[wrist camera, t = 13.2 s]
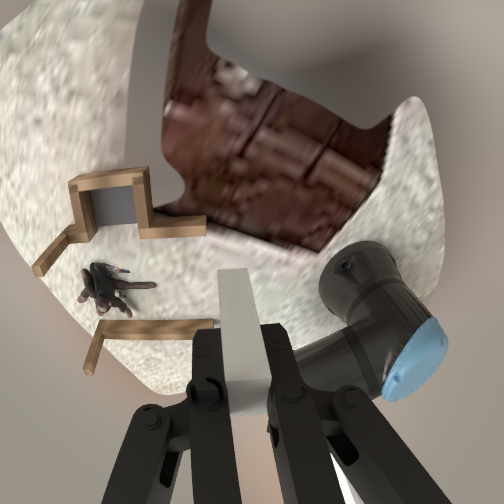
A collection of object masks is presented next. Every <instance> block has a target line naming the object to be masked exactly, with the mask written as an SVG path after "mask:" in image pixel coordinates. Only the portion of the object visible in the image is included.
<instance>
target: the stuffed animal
mask: <svg viewBox="0 0 504 504" xmlns="http://www.w3.org/2000/svg"><path fill="white" fill-rule="evenodd" d="M90 272H91V273H92V274H93V277H94V278H93V277H92V276H91V274H90V273H89V272H88V271H87V270H85V269H82V270H81V273H82V278H83V281H84V285H85V289H84V290H83V291H82V292H81V295H80V296H79V297H78V300H77V301H78V302H79V303H83V302H85V301H86V299H87V298H88V297H89V295H90V297H92V298H94V301H95V303H96V308H97V314H98V315H99V316H102V315H103V313H106V312H108V311H109V310H110V308H111V307H118V308H119V309H120V311H121V312H123V313H126V314H127V316H128V317H129V318H131V317H132V312H131V310H130V308H129V307H128V306H127V305H126V303H125V302H123V301H122V299H121V298H123V297H125V298H126V296H125V295H122V294H121V291H119V297H120V298H119V297H116V296H115V289H119V290H126V289H149V288H155V287H156V285H155V284H154V283H152V282H134V283H129V282H126V281H122V280H115V279H113V278H111V276H112V275H113V274H115V273H130V271H129V270H128V269H119V268H117V267H114V266H111V265H108V264H104V263H93V262H92V263H91V264H90Z"/></svg>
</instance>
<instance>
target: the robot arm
mask: <svg viewBox="0 0 504 504" xmlns="http://www.w3.org/2000/svg"><path fill="white" fill-rule="evenodd" d="M217 272H218V291H219V307H220V323H221V328H212V329H198V330H197V331H196V333H195V335H194V337H193V344H192V349H193V350H192V379H191V381H190V382H189V383H188V384H187V388H186V394H187V398H186V399H185V400H184V401H182V402H181V403H178V404H176V405H172V406H168V407H165V408H163V407H161V406H159V405H157V404H147V405H143V406H141V407H140V408H138V409H137V410H136V412H135V413H134V415H133V417H132V420H131V422H130V425H129V427H128V430H127V433H126V435H125V438H124V441H123V443H122V446H121V448H120V451H119V454H118V456H117V459H116V462H115V465H114V468H113V470H112V473H111V476H110V479H109V482H108V485H107V488H106V491H105V493H104V497H103V500H102V503H101V504H170V501H171V497H172V493H173V489H174V485H175V481H176V477H177V473H178V469H179V466H180V462H181V458H182V454H183V451H185V450H188V449H191V469H192V485H193V498H194V504H242V500H241V494H240V487H239V481H238V473H237V466H236V459H235V451H234V443H233V435H232V427H231V419H230V416H243V415H254V414H263V413H266V411H267V414H268V417H269V420H268V426H267V432H269V433H270V437H271V443H272V448H273V452H274V457H275V462H276V467H277V472H278V477H279V482H280V486H281V491H282V496H283V500H284V504H452V503H451V502H450V501H449V499H448V498H447V497H446V495H445V494H444V493H443V492H442V490H441V489H440V488H439V486H438V485H437V484H436V482H435V481H434V480H433V479H432V477H431V476H430V475H429V474H428V472H427V471H426V470H425V468H424V467H423V466H422V465H421V463H420V462H419V461H418V459H417V458H416V457H415V456H414V454H413V453H412V452H411V450H410V449H409V448H408V447H407V445H406V444H405V443H404V442H403V440H402V439H401V438H400V436H399V435H398V434H397V433H396V431H395V430H394V429H393V428H392V426H391V425H390V424H389V422H388V421H387V420H386V418H385V417H384V416H383V415H382V413H381V412H380V411H379V410H378V408H377V407H376V406H375V405H374V403H373V402H372V401H371V400H373V399H375V398H377V397H379V396H381V395H382V396H383V398H384V399H386V400H387V401H389V402H394V401H397V400H399V399H403V398H404V397H406V396H408V395H410V394H411V393H412V392H414V391H415V390H417V389H418V388H419V387H420V386H422V385H423V384H424V383H425V382H426V381H427V380H428V379H429V378H430V377H431V376H432V374H433V373H434V372H435V371H436V370H437V369H438V367H439V366H440V364H441V363H442V361H443V359H444V357H445V355H446V352H447V349H448V339H447V336H446V334H445V333H444V331H443V329H442V328H441V326H440V325H439V324H438V321H437V319H436V318H435V317H433V316H432V314H431V313H430V312H429V311H428V310H427V308H426V307H425V306H424V305H423V304H422V303H421V301H420V300H419V299H418V298H417V297H416V296H415V295H414V293H413V292H412V291H411V290H410V289H409V288H408V287H407V285H406V284H405V283H404V282H403V281H402V278H401V275H400V273H399V271H398V269H397V265H396V262H395V260H394V258H393V256H392V255H391V253H390V252H389V251H388V250H387V249H386V248H385V247H383V246H382V245H381V244H379V243H376V242H372V241H363V242H358V243H354V244H352V245H350V246H348V247H346V248H344V249H342V250H341V251H340V252H338V253H337V254H336V255H335V256H334V257H333V258H332V259H331V260H330V261H329V262H328V264H327V265H326V267H325V268H324V270H323V272H322V275H321V277H320V281H319V294H320V297H321V299H322V301H323V303H324V304H325V306H326V308H327V309H328V310H329V311H330V312H331V313H333V314H334V315H336V316H338V317H339V318H340V319H341V320H342V321H343V322H344V323H346V324H347V327H345V328H343V329H341V330H339V331H337V332H335V333H333V334H331V335H329V336H326V337H324V338H322V339H320V340H318V341H316V342H313V343H311V344H309V345H307V346H304V347H302V348H300V349H298V350H292V346H291V343H290V340H289V337H288V334H287V331H286V330H285V329H284V328H283V327H282V325H281V324H280V323H275V324H264V325H260V324H259V319H258V315H257V310H256V306H255V301H254V297H253V292H252V288H251V283H250V279H249V274H248V270H247V268H243V269H223V270H217Z"/></svg>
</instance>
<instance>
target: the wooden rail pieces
mask: <svg viewBox="0 0 504 504" xmlns="http://www.w3.org/2000/svg"><path fill="white" fill-rule="evenodd" d="M128 185H132V186H133V194H134V202H135V210H136V217H137V223H138V230H139V236H140V239H154V238H174V237H195V236H206V228H207V223H206V215H202V216H181V217H163V218H154V214H153V205H152V196H151V187H150V175H149V167H148V166H147V167H138V168H129V169H119V170H111V171H104V172H97V173H90V174H84V175H78V176H77V177H75V178H73V179H72V180H70V181H69V182H68V187H69V193H70V199H71V204H72V209H73V214H74V218H75V223H76V224H74V225H69V226H68V227H67V228H66V229H65V230H64V231H63V232H62V233H61V234H60V235H59V236H58V237H57V238H56V239H55V240H54V241H53V242H52V243H51V244H50V246H49V247H48V248H47V249H46V250H45V251H44V252H43V253H42V255H41V256H40V257H39V258H38V259H37V260H36V262H35V263H34V264H33V265H32V266H31V267H32V270H33V272H34V275H35V277H44V275H45V274H46V273H47V271H48V270H49V269H50V267H51V266H52V265H53V264H54V262H55V261H56V260H57V258H58V257H59V256H60V255H61V253H62V252H63V251H64V250H65V249H66V247H67V246H68V245H69V244H72V243H87V242H90V240H91V239H92V238H93V236H94V235H95V234H96V233H97V228H96V223H95V218H94V213H93V208H92V202H91V196H90V190H93V189H101V188H109V187H118V186H128ZM212 328H214V324H213V319H198V320H154V321H132V320H100V321H99V323H98V326H97V329H96V331H95V334H94V337H93V340H92V342H91V345H90V348H89V351H88V354H87V357H86V360H85V363H84V366H83V371H84V372H85V374H87V375H94V371H95V368H96V364H97V361H98V358H99V354H100V351H101V348H102V345H103V342H104V339H120V340H193V337H194V335H195V333H196V331H197V330H198V329H212Z"/></svg>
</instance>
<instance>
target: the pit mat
mask: <svg viewBox="0 0 504 504" xmlns="http://www.w3.org/2000/svg"><path fill="white" fill-rule="evenodd" d="M90 191H91V197H92V203H93V209H94V214H95V219H96V224H97V226H106V225H119V224H133V223H137V217H136V210H135V202H134V194H133V186H132V185H128V186H118V187H109V188H101V189H93V190H90Z"/></svg>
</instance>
